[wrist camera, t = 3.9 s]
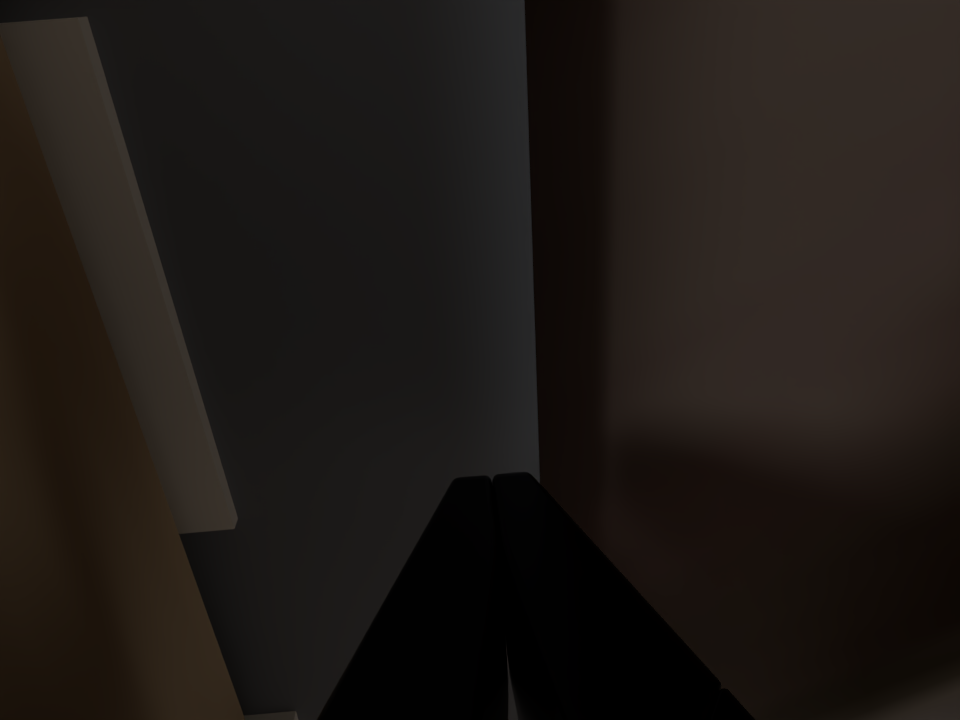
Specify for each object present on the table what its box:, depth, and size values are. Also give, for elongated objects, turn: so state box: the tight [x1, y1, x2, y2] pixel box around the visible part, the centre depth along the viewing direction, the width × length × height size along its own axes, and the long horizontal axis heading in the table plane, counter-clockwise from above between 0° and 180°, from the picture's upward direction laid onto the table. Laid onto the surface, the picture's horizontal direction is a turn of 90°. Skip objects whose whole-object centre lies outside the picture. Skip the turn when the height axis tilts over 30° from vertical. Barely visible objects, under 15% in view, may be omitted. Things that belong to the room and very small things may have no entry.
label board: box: [0, 0, 540, 720], centre depth 11 cm, size 19×12×1 cm, turn 4°
